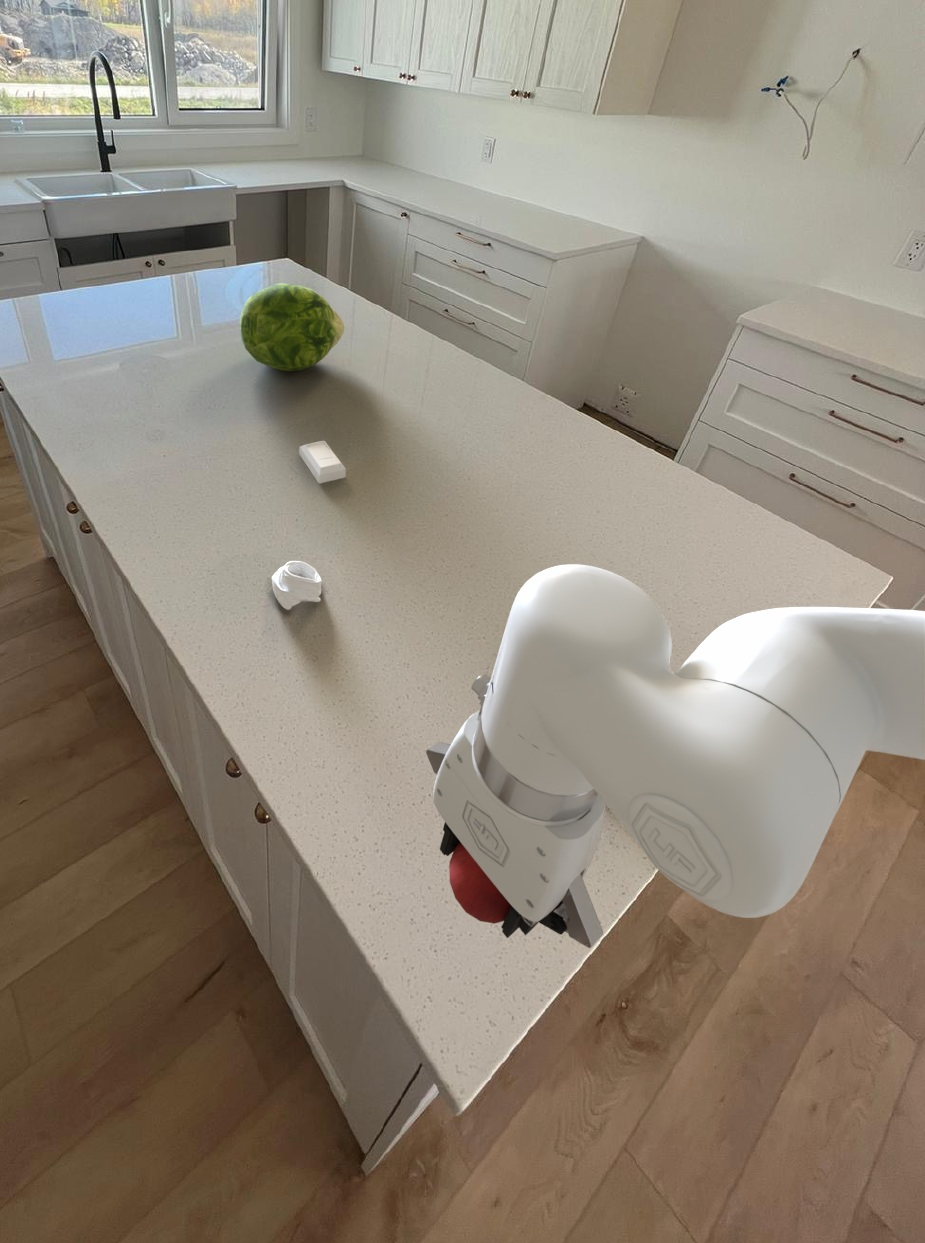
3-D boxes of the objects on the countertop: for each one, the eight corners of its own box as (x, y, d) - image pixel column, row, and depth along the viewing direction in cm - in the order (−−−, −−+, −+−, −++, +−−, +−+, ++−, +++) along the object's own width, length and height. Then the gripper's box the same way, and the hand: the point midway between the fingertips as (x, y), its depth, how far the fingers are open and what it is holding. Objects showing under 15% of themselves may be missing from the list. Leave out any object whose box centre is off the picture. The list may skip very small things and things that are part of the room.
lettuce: (356, 375, 140) (365, 292, 132) (260, 383, 128) (264, 292, 120) (314, 352, 154) (320, 275, 146) (223, 357, 142) (224, 274, 134)
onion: (513, 861, 52) (535, 813, 47) (521, 943, 47) (546, 900, 42) (442, 852, 52) (457, 803, 47) (443, 933, 47) (459, 889, 42)
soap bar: (318, 483, 107) (319, 471, 106) (299, 455, 114) (299, 442, 112) (345, 477, 109) (346, 465, 108) (324, 449, 115) (325, 437, 114)
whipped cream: (264, 585, 89) (259, 560, 86) (305, 565, 92) (302, 541, 89) (290, 621, 84) (285, 595, 81) (333, 599, 86) (330, 574, 84)
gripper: (398, 675, 41) (378, 812, 51) (626, 932, 30) (540, 1038, 40) (481, 626, 44) (446, 763, 55) (711, 838, 33) (611, 958, 44)
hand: (486, 878), depth 48 cm, fingers closed on onion, 5 cm apart
